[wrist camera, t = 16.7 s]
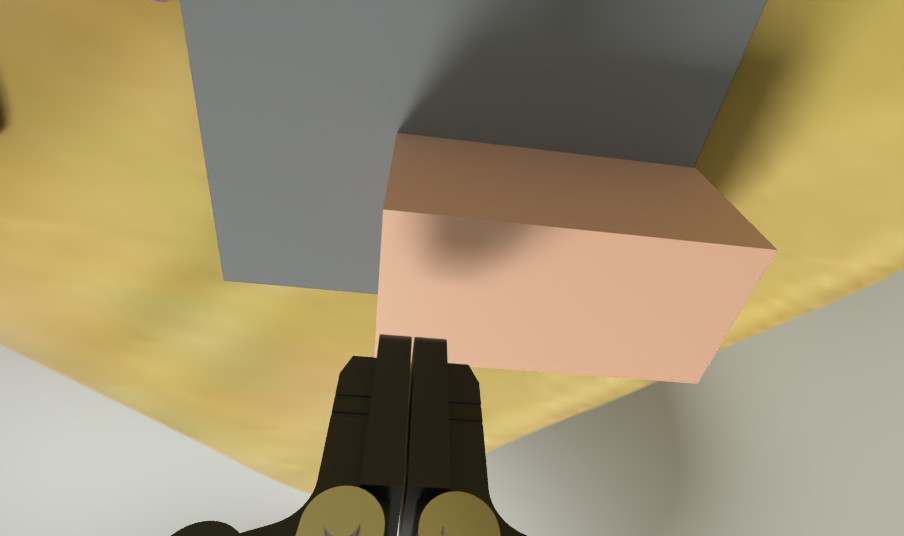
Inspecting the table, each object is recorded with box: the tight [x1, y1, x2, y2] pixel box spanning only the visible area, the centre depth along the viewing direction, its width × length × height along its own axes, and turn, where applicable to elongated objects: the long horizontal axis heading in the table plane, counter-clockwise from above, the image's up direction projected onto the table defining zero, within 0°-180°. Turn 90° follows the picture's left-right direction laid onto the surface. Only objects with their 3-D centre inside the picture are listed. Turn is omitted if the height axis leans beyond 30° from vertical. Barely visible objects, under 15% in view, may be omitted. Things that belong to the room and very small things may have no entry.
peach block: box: [374, 133, 777, 384], centre depth 16 cm, size 5×5×10 cm
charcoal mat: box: [180, 0, 767, 294], centre depth 17 cm, size 16×12×1 cm
